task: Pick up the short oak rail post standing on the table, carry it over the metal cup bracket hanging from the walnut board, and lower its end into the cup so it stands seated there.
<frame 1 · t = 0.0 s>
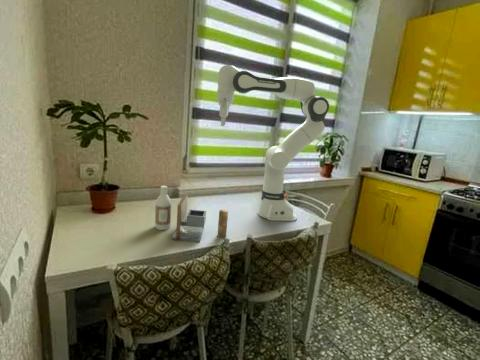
hand: (223, 125, 149), 48 cm above the table, tool pointing down, fingers open, 8 cm apart
bath foam: (162, 227, 132), on the table
cup bracket: (195, 233, 128), on the table
oak rail post: (221, 235, 129), on the table
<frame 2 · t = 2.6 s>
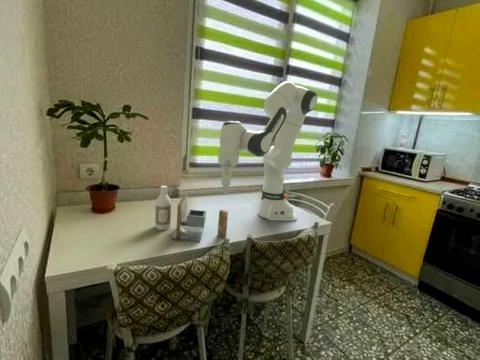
hand: (225, 190, 123), 22 cm above the table, tool pointing down, fingers open, 8 cm apart
nothing on the table moved.
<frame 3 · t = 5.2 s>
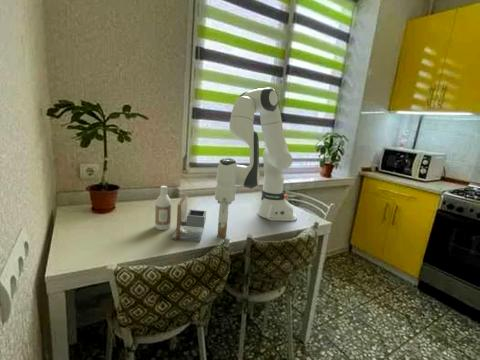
hand: (222, 224, 127), 6 cm above the table, tool pointing down, fingers closed on oak rail post, 4 cm apart
oak rail post: (221, 235, 129), on the table, touching gripper
everything else where it was.
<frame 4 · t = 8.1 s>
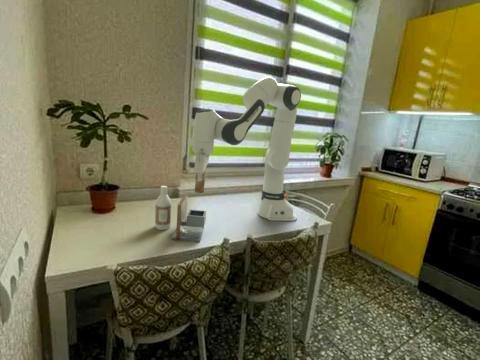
hand: (200, 179, 122), 26 cm above the table, tool pointing down, fingers closed on oak rail post, 4 cm apart
oak rail post: (199, 191, 123), point 20 cm above the table, touching gripper
everything else where it was.
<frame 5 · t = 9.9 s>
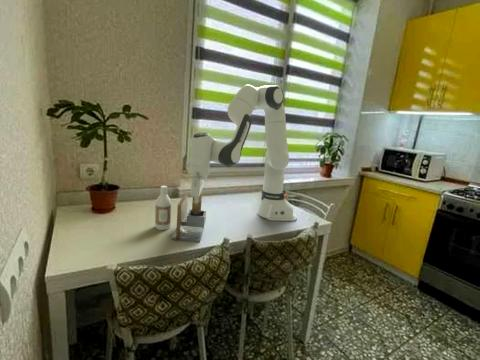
hand: (197, 200, 125), 16 cm above the table, tool pointing down, fingers closed on oak rail post, 4 cm apart
oak rail post: (196, 212, 126), point 10 cm above the table, touching gripper
everything else where it was.
when the fingers open (13 cm above the table, at t = 11.2 s): oak rail post drops 1 cm, resting on cup bracket.
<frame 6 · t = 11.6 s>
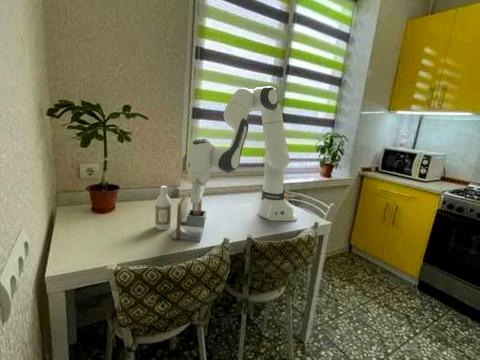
hand: (197, 206, 125), 13 cm above the table, tool pointing down, fingers open, 8 cm apart
oak rail post: (196, 221, 127), point 6 cm above the table, touching cup bracket
everything else where it was.
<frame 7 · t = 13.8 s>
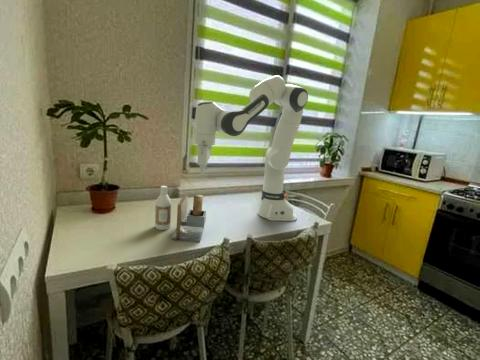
hand: (203, 171, 125), 29 cm above the table, tool pointing down, fingers open, 8 cm apart
nothing on the table moved.
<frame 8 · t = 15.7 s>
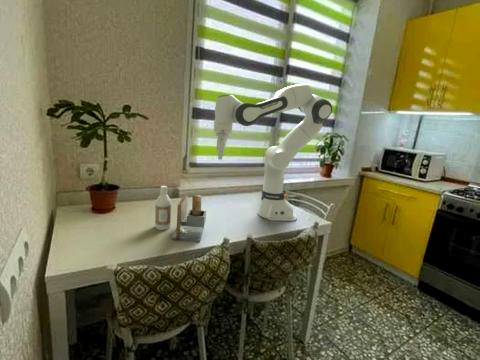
hand: (220, 157, 138), 33 cm above the table, tool pointing down, fingers open, 8 cm apart
nothing on the table moved.
at the end: oak rail post 0.1 cm off-centre on the cup bracket, point 6.1 cm above the cup bracket's base; oak rail post tilted 2°; the gripper is holding nothing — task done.
